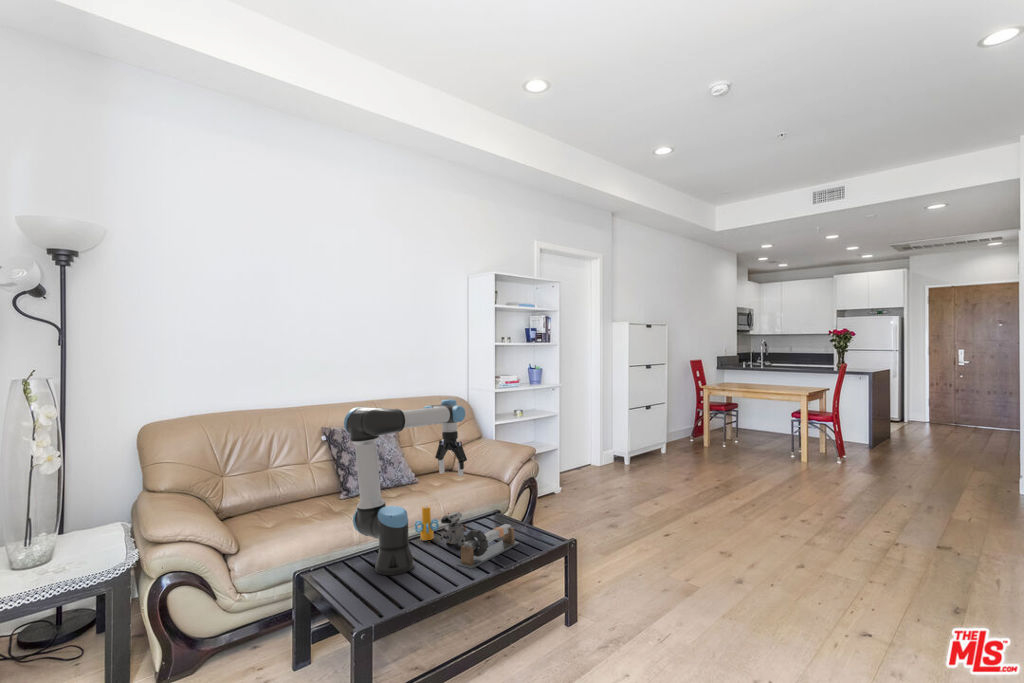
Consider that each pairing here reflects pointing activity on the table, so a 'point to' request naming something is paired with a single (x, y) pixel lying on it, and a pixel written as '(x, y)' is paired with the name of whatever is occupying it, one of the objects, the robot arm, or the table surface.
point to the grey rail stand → (492, 551)
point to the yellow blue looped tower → (426, 524)
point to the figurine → (453, 529)
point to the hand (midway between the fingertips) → (451, 474)
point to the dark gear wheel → (481, 539)
